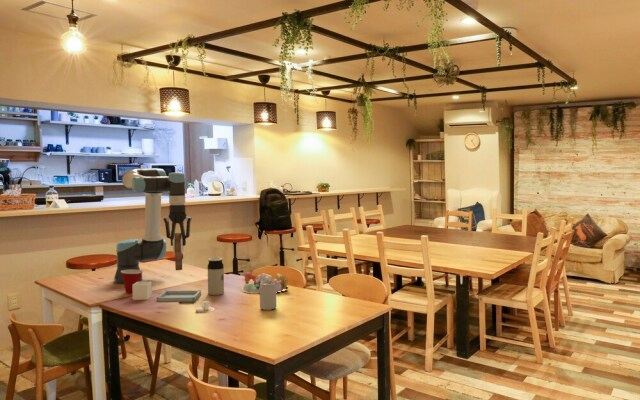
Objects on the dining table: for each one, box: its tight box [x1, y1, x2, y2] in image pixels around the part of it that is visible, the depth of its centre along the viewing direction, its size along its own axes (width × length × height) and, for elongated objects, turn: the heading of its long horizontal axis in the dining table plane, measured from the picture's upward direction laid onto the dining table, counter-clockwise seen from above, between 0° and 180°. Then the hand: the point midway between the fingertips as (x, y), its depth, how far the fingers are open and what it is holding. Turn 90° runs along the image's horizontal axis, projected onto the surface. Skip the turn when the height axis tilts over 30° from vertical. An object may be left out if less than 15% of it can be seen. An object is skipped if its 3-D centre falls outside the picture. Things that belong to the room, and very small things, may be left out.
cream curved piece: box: [195, 300, 215, 313], centre depth 224 cm, size 9×8×4 cm
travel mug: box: [207, 257, 225, 296], centre depth 253 cm, size 8×8×18 cm
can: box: [259, 282, 277, 311], centre depth 225 cm, size 8×8×12 cm
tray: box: [156, 289, 202, 304], centre depth 244 cm, size 14×18×2 cm
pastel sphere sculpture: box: [241, 271, 289, 294], centre depth 262 cm, size 25×24×9 cm
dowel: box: [174, 232, 183, 271], centre depth 242 cm, size 3×3×18 cm
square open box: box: [132, 281, 153, 301], centre depth 243 cm, size 7×7×8 cm
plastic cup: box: [121, 269, 144, 295], centre depth 255 cm, size 11×11×12 cm
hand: (178, 252), depth 242 cm, fingers closed on dowel, 3 cm apart
